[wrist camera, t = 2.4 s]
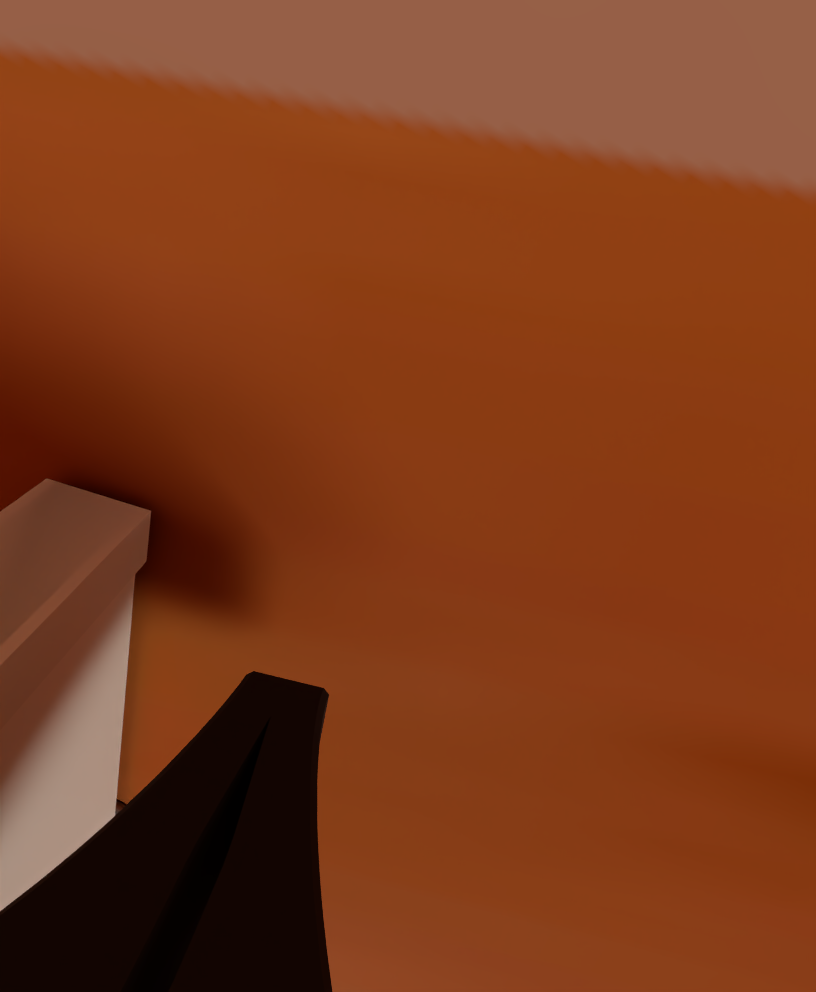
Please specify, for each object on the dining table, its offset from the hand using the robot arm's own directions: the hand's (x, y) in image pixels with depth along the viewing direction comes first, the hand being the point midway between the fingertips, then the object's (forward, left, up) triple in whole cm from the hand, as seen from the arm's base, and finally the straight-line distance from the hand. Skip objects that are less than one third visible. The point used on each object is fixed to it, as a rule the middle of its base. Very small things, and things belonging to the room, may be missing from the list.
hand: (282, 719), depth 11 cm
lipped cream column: (-3, +4, -2) cm, 6 cm away
